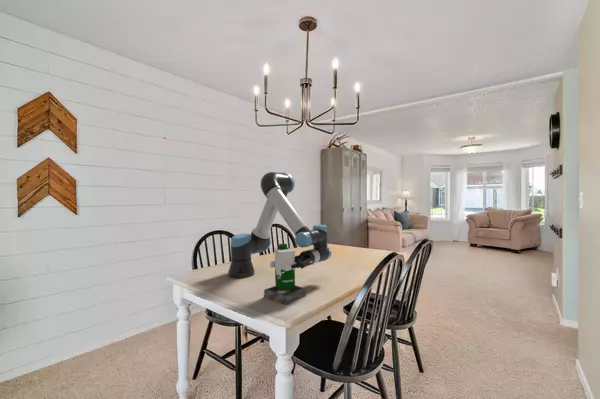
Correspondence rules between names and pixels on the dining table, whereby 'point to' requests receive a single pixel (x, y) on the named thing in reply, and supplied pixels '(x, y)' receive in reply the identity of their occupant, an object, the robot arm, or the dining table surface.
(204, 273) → the dining table surface
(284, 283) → the soya milk
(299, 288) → the dark gray tray
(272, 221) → the robot arm
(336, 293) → the dining table surface
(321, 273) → the dining table surface
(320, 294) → the dining table surface
